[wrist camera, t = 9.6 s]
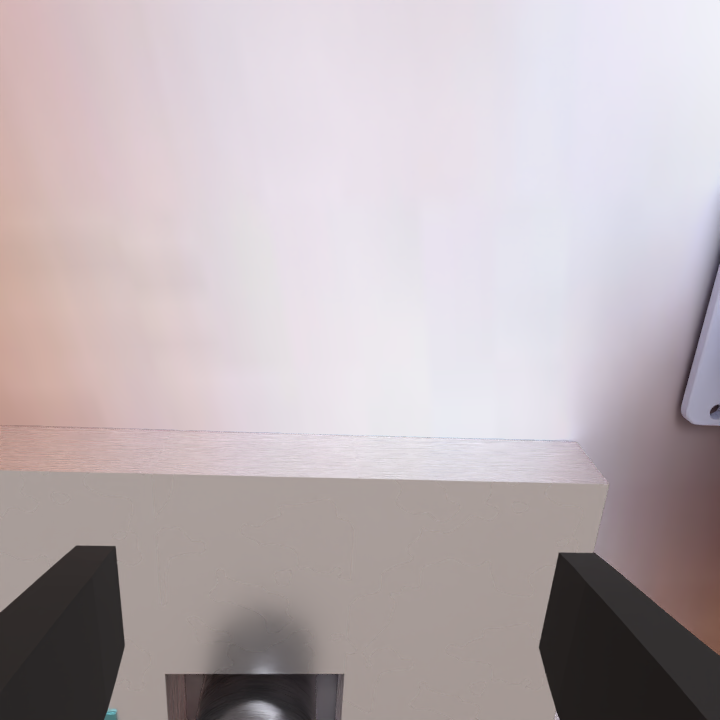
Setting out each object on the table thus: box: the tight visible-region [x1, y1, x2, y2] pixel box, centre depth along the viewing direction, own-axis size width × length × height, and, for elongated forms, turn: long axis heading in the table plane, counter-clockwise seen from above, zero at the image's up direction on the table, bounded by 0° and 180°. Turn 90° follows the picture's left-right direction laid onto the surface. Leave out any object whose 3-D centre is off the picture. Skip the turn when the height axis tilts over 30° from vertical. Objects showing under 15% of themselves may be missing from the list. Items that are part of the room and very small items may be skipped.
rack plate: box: [0, 426, 609, 720], centre depth 21 cm, size 20×16×3 cm
